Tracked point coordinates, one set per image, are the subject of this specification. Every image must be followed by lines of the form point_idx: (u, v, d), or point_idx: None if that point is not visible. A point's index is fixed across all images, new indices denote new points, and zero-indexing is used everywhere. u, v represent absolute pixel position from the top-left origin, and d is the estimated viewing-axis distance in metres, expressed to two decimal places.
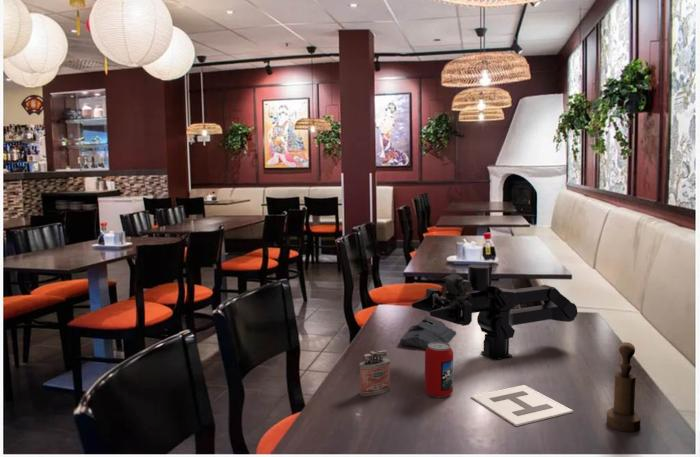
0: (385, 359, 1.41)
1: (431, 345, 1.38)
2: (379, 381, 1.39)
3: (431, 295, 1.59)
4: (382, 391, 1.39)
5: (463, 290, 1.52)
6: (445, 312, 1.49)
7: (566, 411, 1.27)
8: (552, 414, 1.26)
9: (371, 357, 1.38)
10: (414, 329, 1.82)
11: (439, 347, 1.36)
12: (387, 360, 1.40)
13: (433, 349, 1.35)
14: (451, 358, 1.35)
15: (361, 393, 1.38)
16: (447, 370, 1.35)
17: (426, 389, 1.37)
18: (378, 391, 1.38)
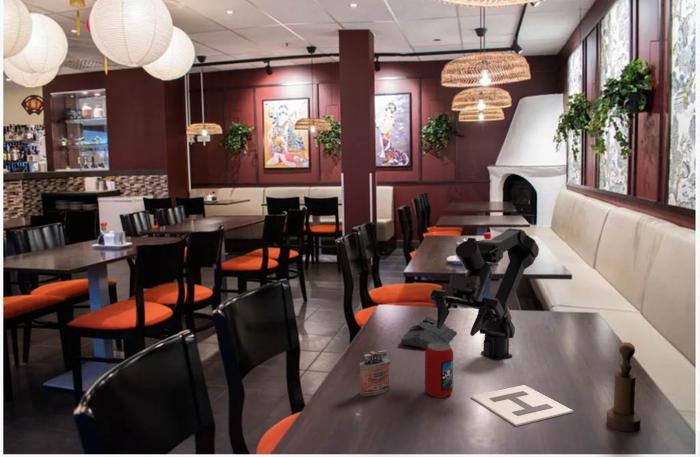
0: (385, 359, 1.41)
1: (431, 345, 1.38)
2: (379, 381, 1.39)
3: (442, 302, 1.48)
4: (382, 391, 1.39)
5: (478, 288, 1.42)
6: (480, 321, 1.41)
7: (566, 411, 1.27)
8: (552, 414, 1.26)
9: (371, 357, 1.38)
10: (415, 329, 1.82)
11: (439, 347, 1.36)
12: (387, 360, 1.40)
13: (433, 349, 1.35)
14: (451, 358, 1.35)
15: (361, 393, 1.38)
16: (447, 370, 1.35)
17: (426, 389, 1.37)
18: (378, 391, 1.38)
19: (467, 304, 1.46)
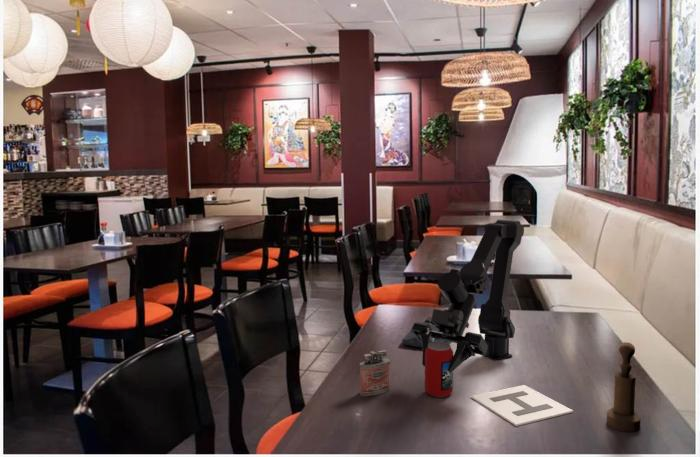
0: (385, 359, 1.41)
1: (431, 345, 1.38)
2: (379, 381, 1.39)
3: (428, 337, 1.41)
4: (382, 391, 1.39)
5: (460, 323, 1.36)
6: (459, 357, 1.36)
7: (566, 411, 1.27)
8: (552, 414, 1.26)
9: (371, 357, 1.38)
10: None
11: (439, 347, 1.36)
12: (387, 360, 1.40)
13: (433, 349, 1.35)
14: (451, 358, 1.35)
15: (361, 393, 1.38)
16: (447, 370, 1.35)
17: (426, 389, 1.37)
18: (378, 391, 1.38)
19: (446, 338, 1.40)
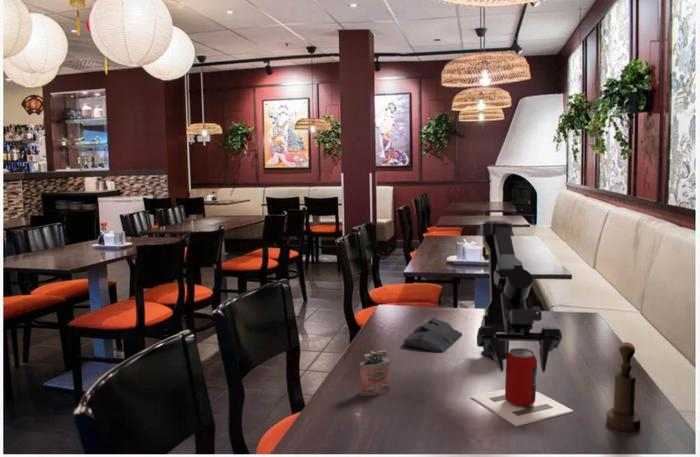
0: (385, 359, 1.41)
1: (514, 353, 1.30)
2: (379, 381, 1.39)
3: None
4: (382, 391, 1.39)
5: None
6: None
7: (566, 411, 1.27)
8: (552, 414, 1.26)
9: (371, 357, 1.38)
10: (419, 330, 1.81)
11: (524, 354, 1.30)
12: (387, 360, 1.40)
13: (524, 357, 1.28)
14: None
15: (361, 393, 1.38)
16: None
17: (514, 400, 1.29)
18: (378, 391, 1.38)
19: (521, 338, 1.34)
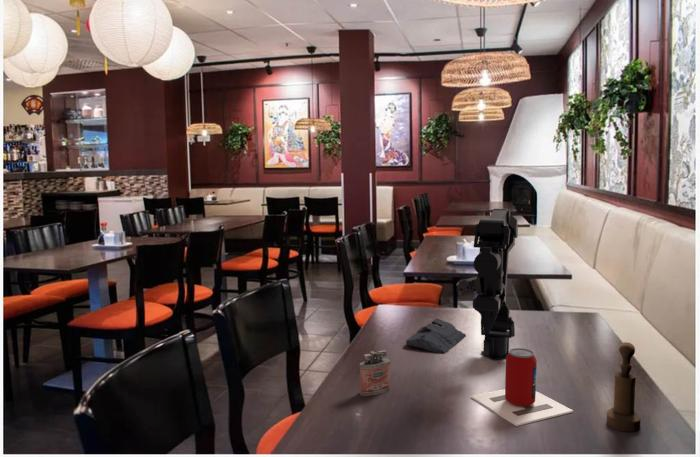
0: (385, 359, 1.41)
1: (513, 353, 1.30)
2: (379, 381, 1.39)
3: None
4: (382, 391, 1.39)
5: (468, 290, 1.44)
6: (486, 318, 1.42)
7: (566, 411, 1.27)
8: (552, 414, 1.26)
9: (371, 357, 1.38)
10: (422, 331, 1.81)
11: (524, 354, 1.30)
12: (387, 360, 1.40)
13: (523, 357, 1.28)
14: None
15: (361, 393, 1.38)
16: None
17: (514, 401, 1.29)
18: (378, 391, 1.38)
19: None
